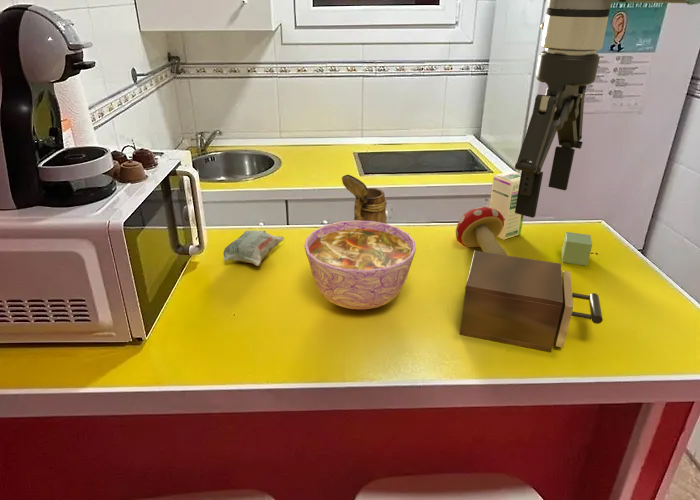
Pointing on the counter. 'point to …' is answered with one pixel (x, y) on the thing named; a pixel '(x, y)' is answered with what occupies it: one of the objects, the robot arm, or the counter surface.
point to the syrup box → (507, 202)
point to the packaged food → (251, 247)
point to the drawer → (568, 309)
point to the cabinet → (512, 300)
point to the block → (576, 248)
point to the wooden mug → (366, 200)
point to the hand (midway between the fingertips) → (542, 200)
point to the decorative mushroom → (481, 229)
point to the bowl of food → (359, 262)
